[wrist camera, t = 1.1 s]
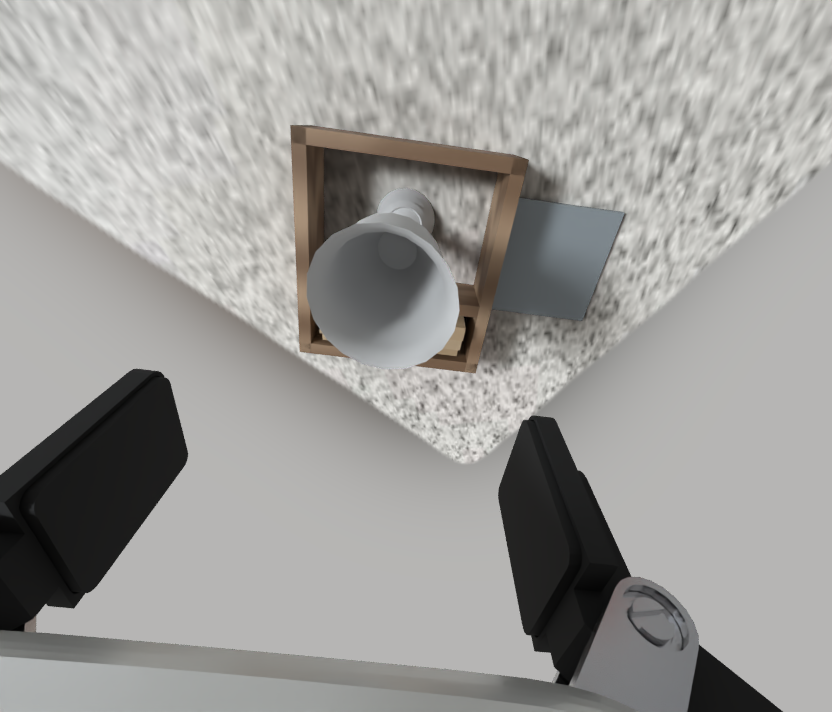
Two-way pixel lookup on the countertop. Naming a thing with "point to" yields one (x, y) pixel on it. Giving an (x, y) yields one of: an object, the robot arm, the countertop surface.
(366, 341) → the chalice
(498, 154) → the frame
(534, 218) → the mat
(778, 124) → the countertop surface
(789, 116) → the countertop surface
